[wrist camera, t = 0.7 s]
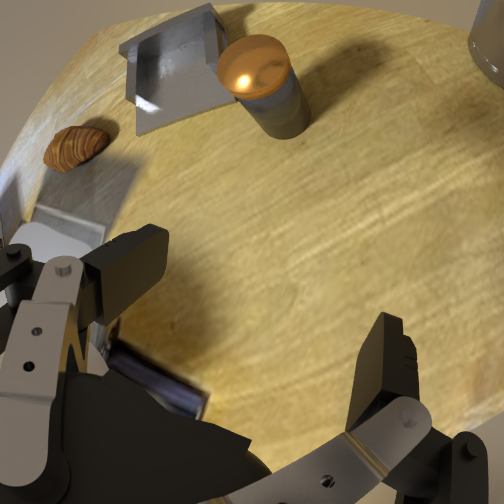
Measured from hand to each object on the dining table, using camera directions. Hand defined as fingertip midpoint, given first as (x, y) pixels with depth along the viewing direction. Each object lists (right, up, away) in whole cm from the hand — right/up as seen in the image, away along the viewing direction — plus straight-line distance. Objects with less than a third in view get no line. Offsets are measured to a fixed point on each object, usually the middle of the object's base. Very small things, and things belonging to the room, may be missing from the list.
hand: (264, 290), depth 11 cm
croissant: (-24, +15, +28) cm, 40 cm away
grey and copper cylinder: (+3, +14, +18) cm, 23 cm away
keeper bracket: (-9, +22, +22) cm, 33 cm away
